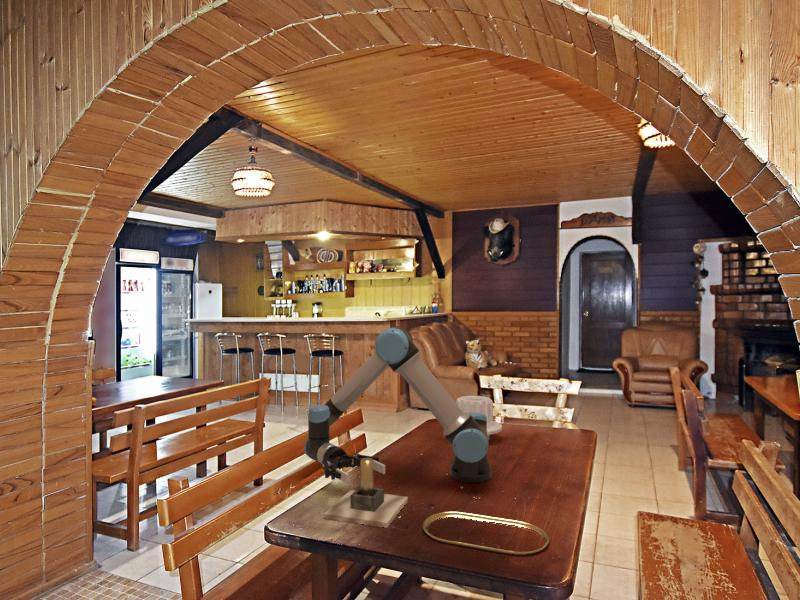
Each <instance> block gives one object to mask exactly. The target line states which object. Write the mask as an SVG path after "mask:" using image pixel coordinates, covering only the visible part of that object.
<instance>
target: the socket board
mask: <svg viewBox="0 0 800 600" xmlns="http://www.w3.org/2000/svg"><path fill="white" fill-rule="evenodd" d="M408 500H409V496H405V495H404V496H403V495H395V494H388V493H385V489H384V488H377V487H374V496H373V497H371V496H364V495H361V485H360V486H359V487H358V488H356V489H350V490H349V491H348V492H347V493H345V494H344V495H343V496H342V497H340V499H339V500H338V501H336V502H335V503H333V505H332V506H331V507H330V508H328V509H327V510H326V511H325V512H323V519H325V520H329V521H336V522H342V523H343V522H344V523H350V524H356V523H357V524H356V525H362V524H364V525H363V526H369V525H370V526H371V527H376V526H377V527H376V528H382V527H384V528H385V529H387V528H389V526H390V525H391V524H390V523H392V522H394V520H395V518H396V517H397V516H398V515H397V514H400V512H401V511H402V510H403V508H404V507H405V506H406V505H407V504H408V502H409V501H408ZM404 505H405V506H404ZM401 509H402V510H401ZM400 510H401V511H400ZM370 526H369V527H370ZM384 528H383V529H384Z"/></svg>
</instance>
